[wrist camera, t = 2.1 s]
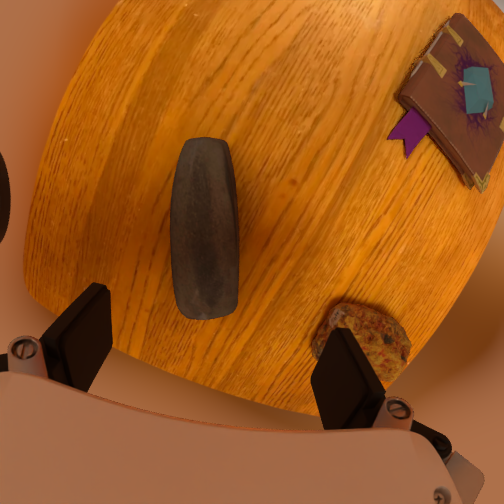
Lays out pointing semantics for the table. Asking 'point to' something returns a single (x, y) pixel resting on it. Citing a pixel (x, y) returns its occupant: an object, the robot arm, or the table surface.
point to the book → (457, 101)
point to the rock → (369, 337)
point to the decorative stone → (205, 230)
